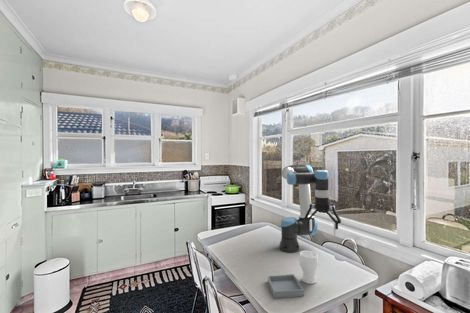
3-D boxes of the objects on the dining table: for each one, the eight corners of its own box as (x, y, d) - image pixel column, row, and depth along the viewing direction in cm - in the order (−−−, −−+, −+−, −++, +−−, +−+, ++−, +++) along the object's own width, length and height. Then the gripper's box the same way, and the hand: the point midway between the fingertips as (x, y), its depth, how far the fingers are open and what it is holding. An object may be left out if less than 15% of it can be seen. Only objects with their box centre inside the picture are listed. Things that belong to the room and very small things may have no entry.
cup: (314, 275, 135) (313, 249, 135) (322, 285, 124) (321, 257, 124) (297, 275, 135) (296, 250, 135) (303, 285, 124) (302, 258, 124)
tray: (267, 281, 130) (267, 275, 130) (293, 279, 131) (293, 274, 131) (274, 298, 114) (274, 291, 114) (304, 295, 115) (303, 289, 115)
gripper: (298, 196, 137) (299, 230, 137) (344, 199, 123) (345, 238, 123) (302, 193, 143) (303, 227, 143) (346, 197, 129) (346, 234, 130)
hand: (322, 232), depth 133 cm, fingers open, 13 cm apart
